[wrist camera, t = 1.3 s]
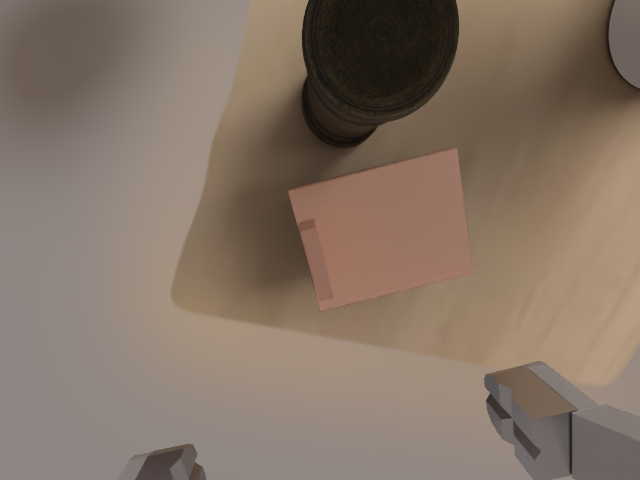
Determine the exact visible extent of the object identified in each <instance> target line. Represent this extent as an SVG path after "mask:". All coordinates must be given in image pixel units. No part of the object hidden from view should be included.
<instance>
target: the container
mask: <svg viewBox="0 0 640 480" xmlns="http://www.w3.org/2000/svg"><path fill="white" fill-rule="evenodd" d="M458 37H459V17H458V9H457V4H456V0H309V1H308V4H307V7H306V11H305V15H304V20H303V28H302V49H303V57H304V62H305V66H306V69H307V74H308V76H307V78H306V80H305V83H304V87H303V91H302V100H301V101H302V111H303V115H304V118H305V120H306V123H307V125H308V126H309V128H310V129H311V131H312V132H313V133H314V134H315V135H316V136H317V137H318V138H319V139H321V140H322V141H324V142H325V143H328V144H330V145H333V146H337V147H352V146H355V145H358V144H360V143H362V142H363V141H365V140H366V139H367V138H368V137H369V136H370V135H371V134H372V133H373V132H374V131H375V130H376V128H377V127H378V126H379V125H381V124H384V123H387V122H389V121H393V120H397V119H400V118H403V117H405V116H407V115H409V114H411V113H413V112H415V111H416V110H418V109H419V108H421V107H422V106H423V105H424V104H426V103H427V102H428V101H429V100H430V99H431V98H432V97H433V96H434V94H435V93H436V92H437V91H438V89H439V88H440V87H441V85H442V83H443V82H444V80H445V78H446V77H447V75H448V73H449V71H450V68H451V66H452V63H453V60H454V57H455V54H456V50H457V45H458Z"/></svg>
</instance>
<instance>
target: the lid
mask: <svg viewBox="0 0 640 480" xmlns="http://www.w3.org/2000/svg"><path fill="white" fill-rule="evenodd" d="M288 193H289V197H290V200H291V204H292V208H293V211H294V215H295V219H296V222H297V226H298V230H299V233H300V237H301V241H302V244H303V248H304V252H305V255H306V259H307V263H308V267H309V270H310V274H311V278H312V281H313V285H314V289H315V292H316V296H317V300H318V303H319V307H320V311H323V310H327V309H331V308H335V307H339V306H343V305H347V304H351V303H355V302H359V301H363V300H367V299H371V298H375V297H379V296H383V295H387V294H391V293H395V292H399V291H403V290H407V289H411V288H415V287H419V286H423V285H427V284H431V283H435V282H439V281H443V280H447V279H451V278H455V277H459V276H463V275H467V274H471V273H473V272H472V264H471V256H470V248H469V239H468V231H467V223H466V215H465V207H464V198H463V190H462V182H461V174H460V166H459V158H458V149H457V148H452V149H444V150H440V151H436V152H432V153H428V154H424V155H420V156H416V157H412V158H408V159H404V160H401V161H397V162H393V163H389V164H385V165H381V166H377V167H373V168H369V169H365V170H361V171H357V172H353V173H349V174H345V175H342V176H338V177H334V178H330V179H326V180H322V181H318V182H314V183H310V184H306V185H302V186H298V187H294V188H290V189H289V190H288Z"/></svg>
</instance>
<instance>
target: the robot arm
mask: <svg viewBox="0 0 640 480" xmlns="http://www.w3.org/2000/svg"><path fill="white" fill-rule="evenodd" d="M609 46H610V52H611V56H612V59H613V61H614V64H615V66H616V68H617V70H618V71H619V73H620V74H621V75H622V76H623V78H624V79H625V80H627V81H628V82H629V83H630V84H632V85H633V86H635V87H637V88H639V89H640V0H615V3H614V6H613V9H612V13H611V18H610V24H609ZM484 384H485V388H486V389H487V390H488V391H489V392H490V394H489V396H488V398H487V399H486V404H487V411H488V414H489V416H490V419H491V422H492V423H493V425H494V427H495V429H496V430H497V432H498V433H499V435H500V436H501V437H502V439H503V440H505V441H507V442H509V443H510V444H513V445H514V446H515V456H516V457H517V459H518V460H519V461H520V463H521V464H522V465H523V467H524V468H525V469H526V470H527V472H528V473H529V474H530V476H531V477H532V478H533V479H534V480H551V479H556V478H561V477H566V476H571V475H572V478H574V479H575V480H640V417H639V416H636V415H633V414H631V413H628V412H625V411H622V410H620V409H617V408H614V407H612V406H609V405H601V406H600V405H598V404H597V403H596V402H594V401H593V400H592V399H591V398H589V397H588V396H587V395H585V394H584V393H583V392H582V391H580V390H579V389H578V388H576V387H575V386H574V385H573V384H571V383H570V382H569V381H567V380H566V379H565V378H564V377H562V376H561V375H560V374H559V373H557V372H556V371H555V370H553V369H552V368H551V367H550V366H548V365H547V364H546V363H544V362H541V361H537V362H533V363H529V364H525V365H522V366H518V367H514V368H510V369H506V370H502V371H497V372H493V373H489V374H486V375H485V378H484ZM196 457H197V452H196V450H195V448H194V445H192V444H186V445H182V446H177V447H171V448H166V449H162V450H157V451H153V452H149V453H144V454H139V455H135V456H134V457H132V458H131V459H130V460H129V461H128V463H127V464H126V466H125V468H124V469H123V471H122V472H121V474H120V476H119V478H118V479H117V480H206V476H205V472H204V469H203V467H202V466H200V465H199V464H197V463H196V462H195V459H196Z"/></svg>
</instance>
